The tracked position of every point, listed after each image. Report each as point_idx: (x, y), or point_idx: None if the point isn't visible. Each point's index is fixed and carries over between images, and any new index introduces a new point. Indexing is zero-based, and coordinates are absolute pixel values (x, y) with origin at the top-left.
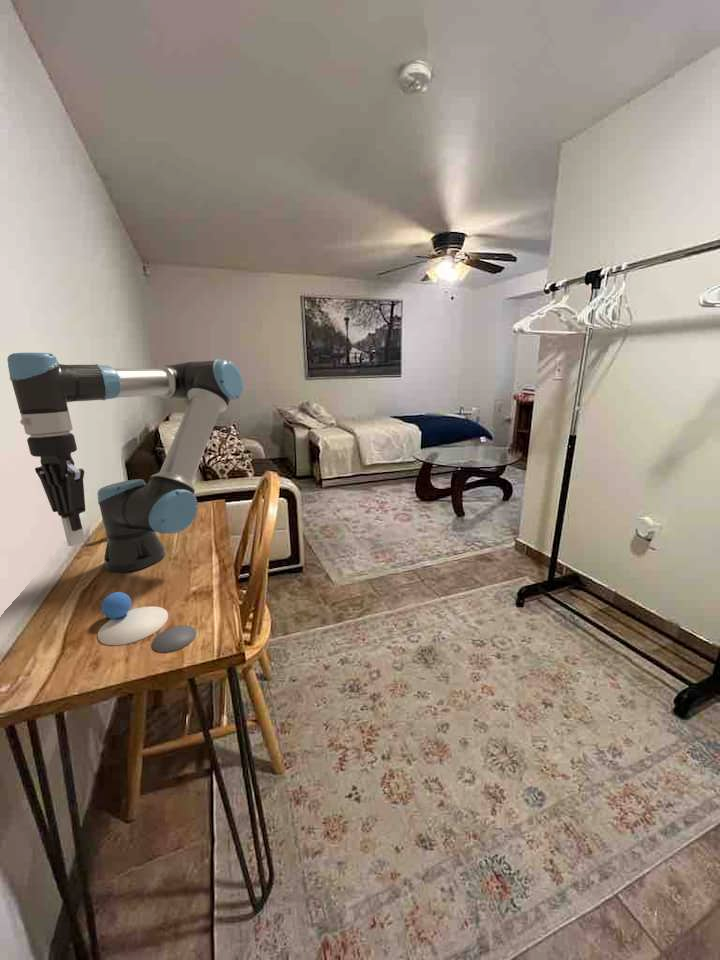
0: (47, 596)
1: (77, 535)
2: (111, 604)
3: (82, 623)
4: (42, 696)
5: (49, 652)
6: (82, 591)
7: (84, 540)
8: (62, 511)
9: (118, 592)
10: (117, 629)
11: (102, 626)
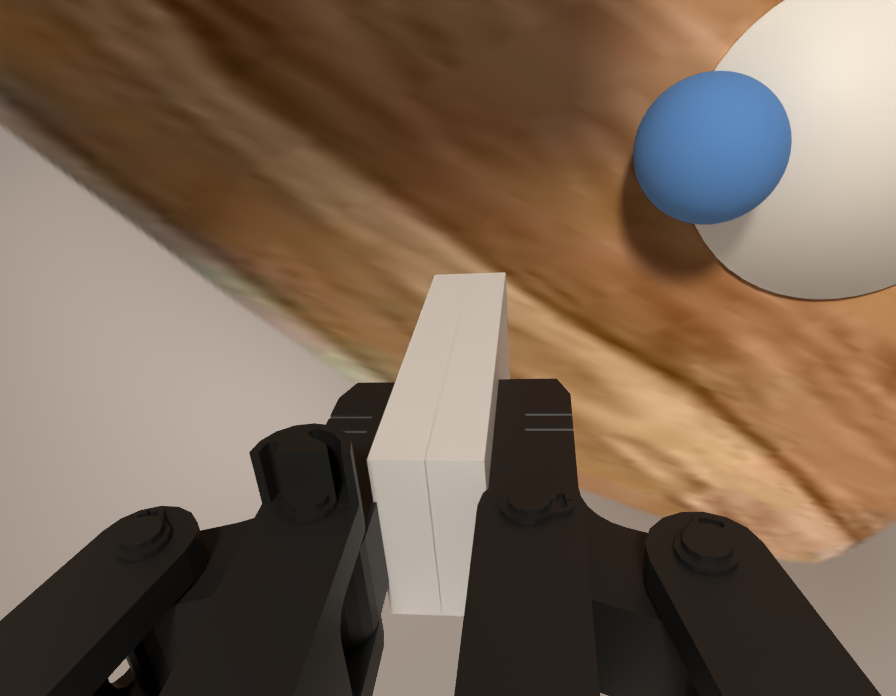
0: (132, 194)
1: (504, 371)
2: (754, 205)
3: (566, 251)
4: (859, 517)
5: (643, 406)
6: (229, 77)
7: (504, 285)
8: (371, 648)
9: (727, 135)
10: (800, 213)
11: (699, 230)
